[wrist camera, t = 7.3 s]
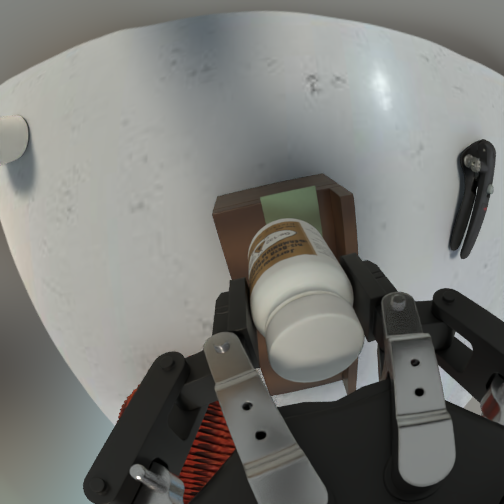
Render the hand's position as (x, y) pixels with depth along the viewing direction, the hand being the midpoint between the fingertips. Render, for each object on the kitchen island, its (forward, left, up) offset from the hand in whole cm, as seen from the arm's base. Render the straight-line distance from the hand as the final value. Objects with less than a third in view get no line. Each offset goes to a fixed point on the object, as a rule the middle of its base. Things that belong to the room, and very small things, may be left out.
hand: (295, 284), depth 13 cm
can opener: (+6, +29, -20) cm, 35 cm away
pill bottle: (0, 0, -4) cm, 4 cm away
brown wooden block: (+14, +1, -19) cm, 24 cm away
